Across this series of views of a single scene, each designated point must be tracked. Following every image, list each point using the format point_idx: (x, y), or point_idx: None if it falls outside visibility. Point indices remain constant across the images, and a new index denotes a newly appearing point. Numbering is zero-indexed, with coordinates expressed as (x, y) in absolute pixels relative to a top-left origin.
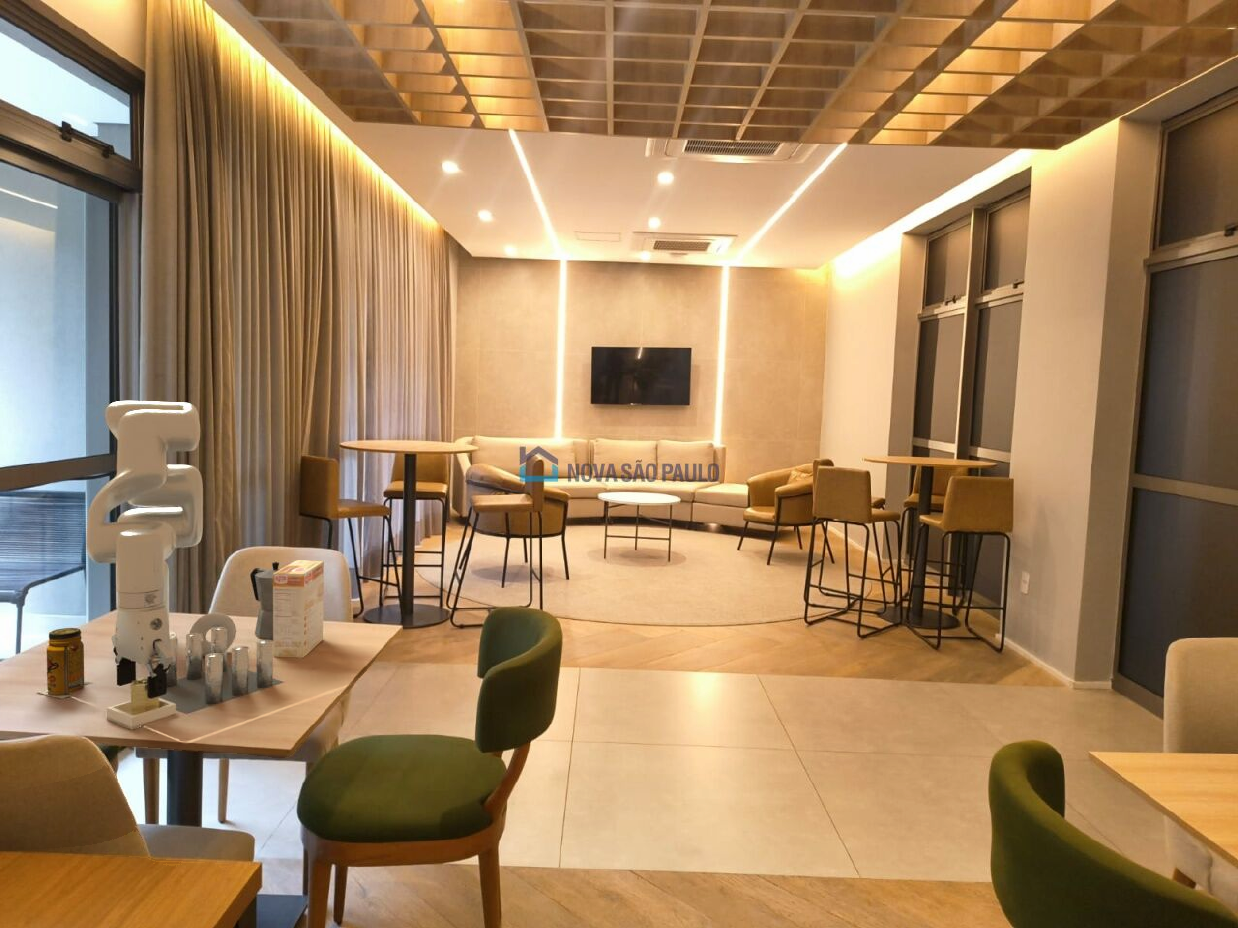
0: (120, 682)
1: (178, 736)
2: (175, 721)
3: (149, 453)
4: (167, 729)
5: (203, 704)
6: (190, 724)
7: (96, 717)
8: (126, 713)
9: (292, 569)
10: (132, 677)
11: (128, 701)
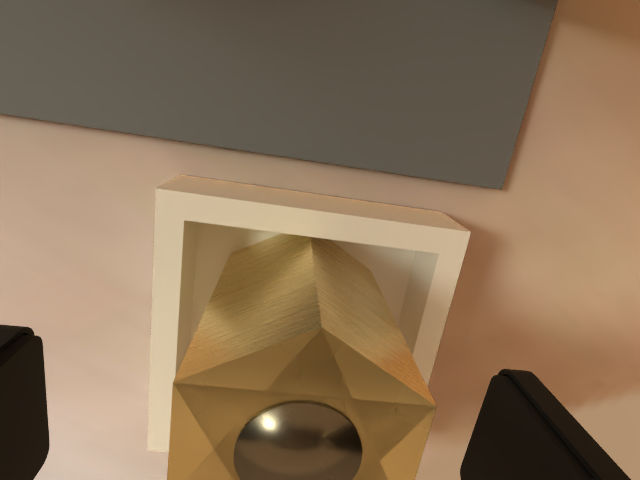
0: (30, 473)
1: (634, 371)
2: (497, 266)
3: None
4: (533, 345)
5: (492, 17)
6: (597, 258)
7: (98, 405)
8: None
9: None
10: (11, 391)
11: (154, 340)
